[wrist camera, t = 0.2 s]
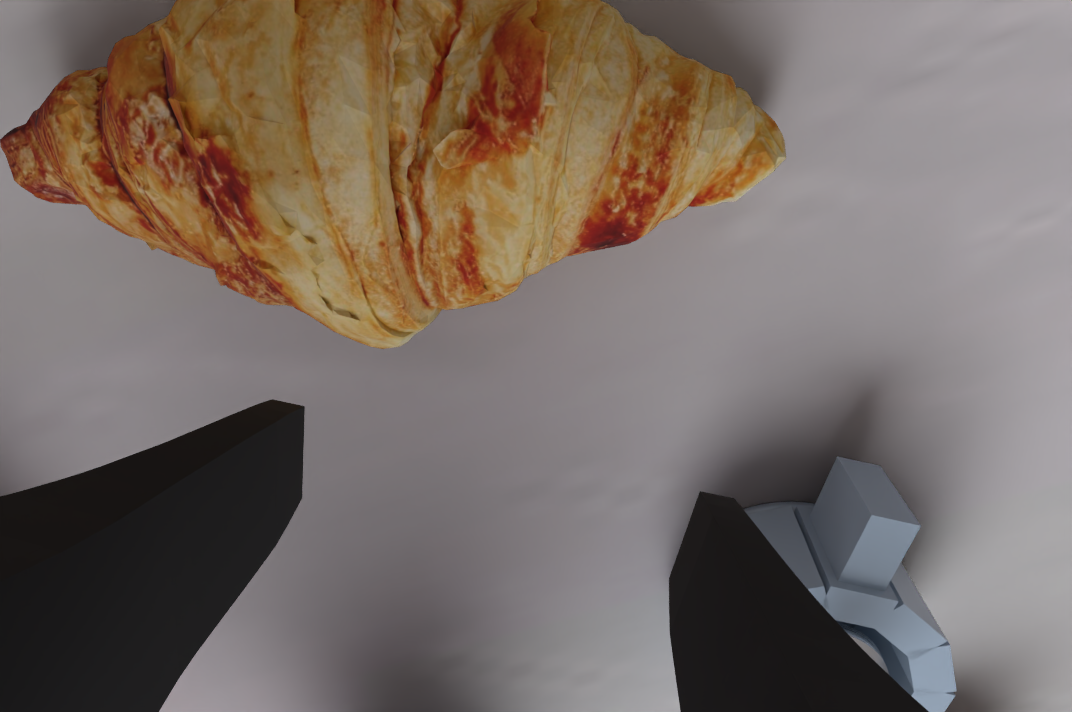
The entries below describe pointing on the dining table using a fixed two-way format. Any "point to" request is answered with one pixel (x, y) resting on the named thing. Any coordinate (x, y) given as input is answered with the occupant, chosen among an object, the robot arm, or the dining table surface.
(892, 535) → the press pot
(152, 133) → the croissant
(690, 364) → the dining table surface
